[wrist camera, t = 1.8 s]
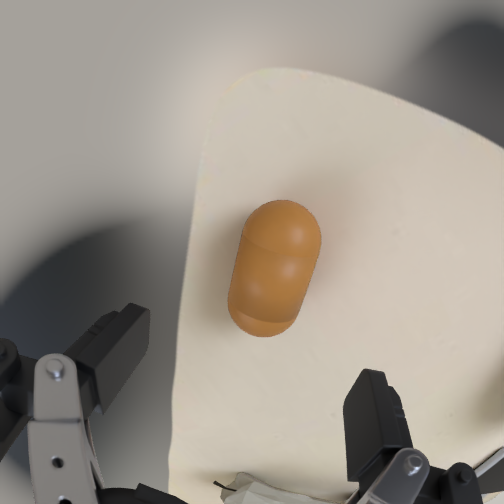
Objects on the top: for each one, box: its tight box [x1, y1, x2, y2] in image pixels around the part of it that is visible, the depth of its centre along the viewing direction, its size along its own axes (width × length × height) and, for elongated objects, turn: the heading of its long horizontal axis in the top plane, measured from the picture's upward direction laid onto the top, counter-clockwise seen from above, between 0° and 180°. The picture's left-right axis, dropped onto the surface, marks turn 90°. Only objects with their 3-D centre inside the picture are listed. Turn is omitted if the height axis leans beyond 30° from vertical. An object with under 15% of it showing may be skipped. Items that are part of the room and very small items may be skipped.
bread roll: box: [228, 200, 321, 337], centre depth 17 cm, size 8×4×4 cm, turn 167°
